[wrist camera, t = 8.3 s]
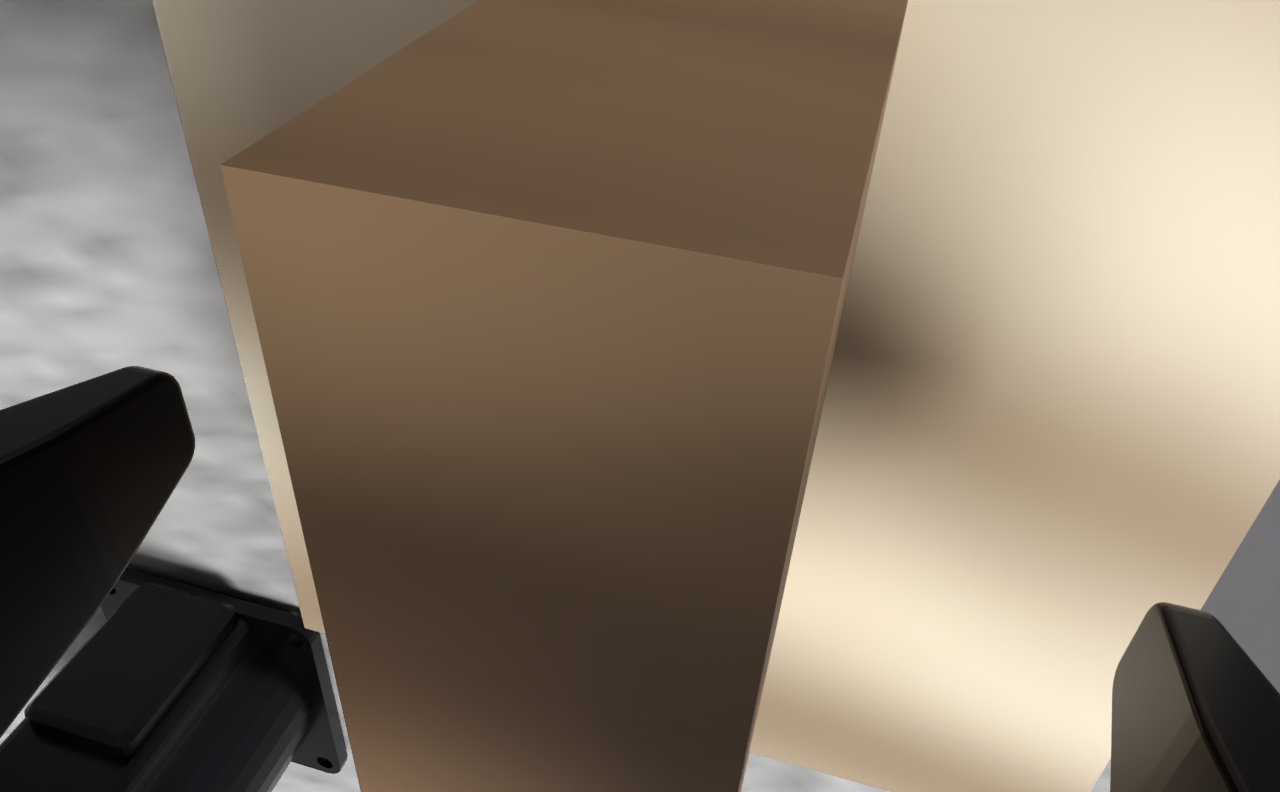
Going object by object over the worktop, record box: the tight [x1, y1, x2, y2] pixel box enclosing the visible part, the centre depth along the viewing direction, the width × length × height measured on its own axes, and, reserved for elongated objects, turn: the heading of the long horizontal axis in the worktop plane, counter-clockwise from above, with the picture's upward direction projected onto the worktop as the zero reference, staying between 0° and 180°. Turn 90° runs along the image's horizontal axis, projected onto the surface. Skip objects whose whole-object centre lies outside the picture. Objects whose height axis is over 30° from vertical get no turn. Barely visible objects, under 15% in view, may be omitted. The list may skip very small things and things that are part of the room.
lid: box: [152, 0, 1280, 792], centre depth 9 cm, size 14×12×6 cm
